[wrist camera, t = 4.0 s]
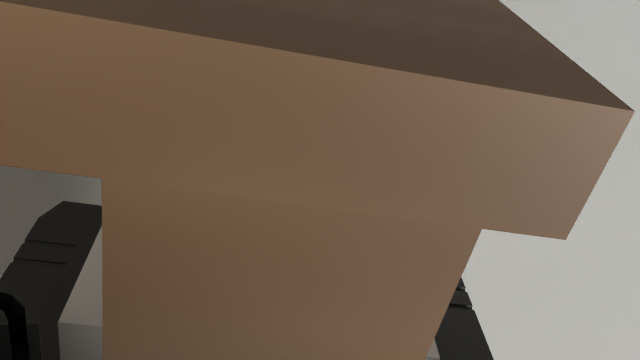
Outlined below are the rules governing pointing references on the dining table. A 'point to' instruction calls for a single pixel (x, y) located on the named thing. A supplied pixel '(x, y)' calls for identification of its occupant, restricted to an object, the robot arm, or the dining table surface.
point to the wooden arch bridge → (298, 160)
